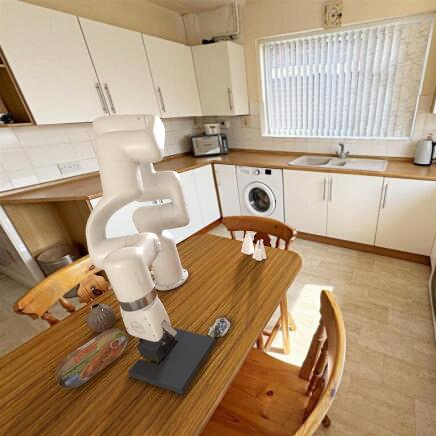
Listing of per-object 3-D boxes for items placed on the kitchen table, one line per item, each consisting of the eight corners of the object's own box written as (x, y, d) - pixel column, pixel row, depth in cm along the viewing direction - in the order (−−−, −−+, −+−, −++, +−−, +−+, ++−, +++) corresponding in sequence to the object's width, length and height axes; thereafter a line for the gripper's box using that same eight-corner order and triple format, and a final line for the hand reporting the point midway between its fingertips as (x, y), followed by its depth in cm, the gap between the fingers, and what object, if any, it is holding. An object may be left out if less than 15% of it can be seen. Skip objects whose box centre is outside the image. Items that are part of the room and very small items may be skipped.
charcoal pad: (129, 376, 60) (127, 371, 59) (170, 330, 72) (168, 326, 71) (182, 394, 56) (180, 389, 55) (216, 343, 68) (214, 338, 67)
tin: (67, 396, 56) (50, 374, 53) (62, 389, 58) (46, 366, 54) (133, 346, 68) (123, 325, 64) (127, 341, 69) (117, 320, 66)
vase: (89, 339, 70) (77, 318, 66) (95, 322, 76) (84, 301, 72) (116, 330, 73) (106, 309, 69) (120, 314, 78) (111, 294, 75)
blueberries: (205, 341, 68) (204, 336, 68) (209, 319, 76) (208, 314, 75) (229, 337, 69) (228, 333, 68) (231, 316, 76) (230, 311, 76)
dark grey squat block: (141, 356, 62) (136, 346, 61) (158, 337, 68) (154, 327, 66) (159, 362, 61) (155, 351, 59) (176, 342, 66) (172, 331, 64)
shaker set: (240, 254, 109) (237, 233, 104) (246, 250, 112) (244, 229, 107) (261, 262, 103) (258, 240, 98) (267, 257, 106) (265, 236, 101)
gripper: (96, 301, 55) (121, 352, 63) (155, 316, 51) (175, 369, 58) (124, 280, 62) (144, 329, 70) (179, 292, 57) (194, 343, 65)
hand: (158, 347), depth 64 cm, fingers closed on dark grey squat block, 5 cm apart
